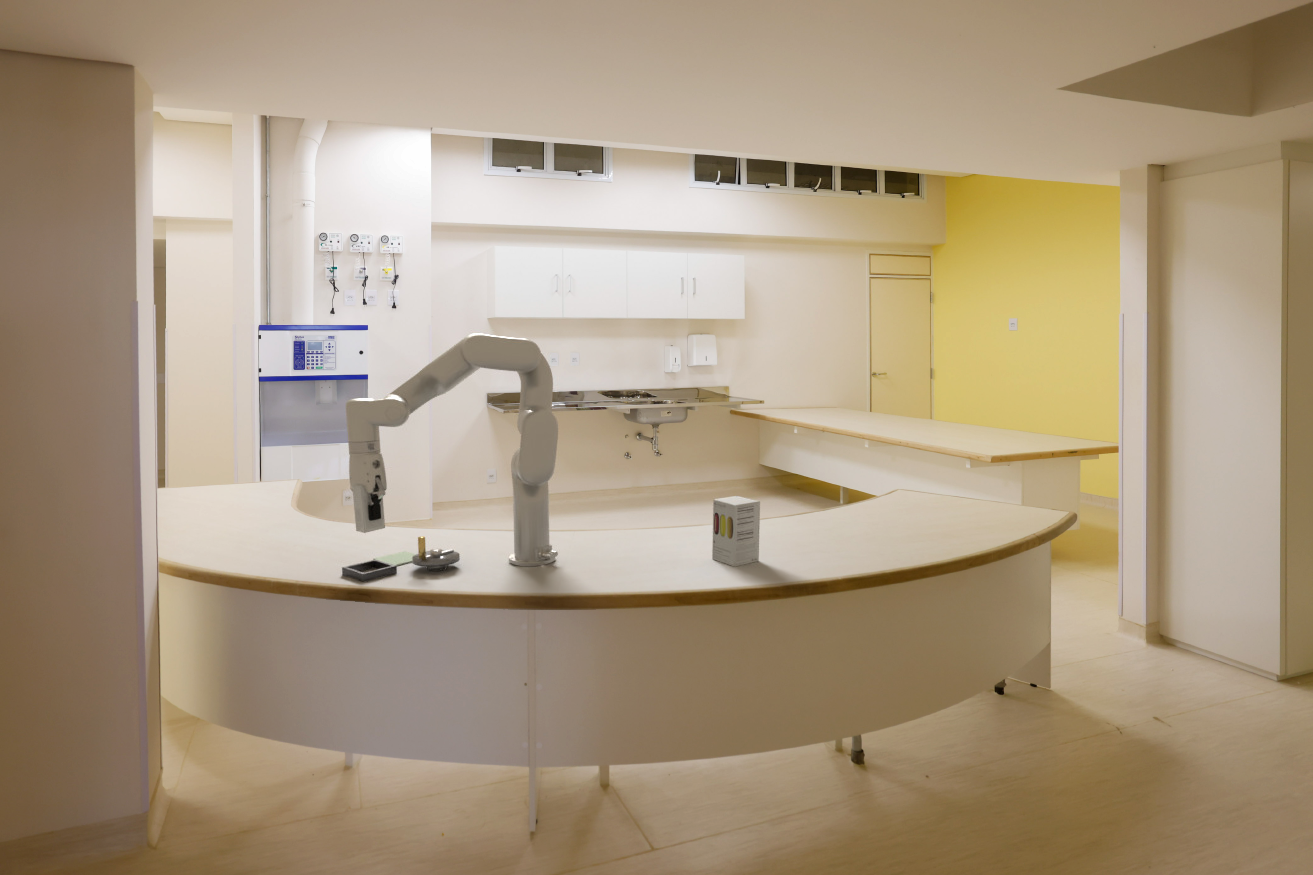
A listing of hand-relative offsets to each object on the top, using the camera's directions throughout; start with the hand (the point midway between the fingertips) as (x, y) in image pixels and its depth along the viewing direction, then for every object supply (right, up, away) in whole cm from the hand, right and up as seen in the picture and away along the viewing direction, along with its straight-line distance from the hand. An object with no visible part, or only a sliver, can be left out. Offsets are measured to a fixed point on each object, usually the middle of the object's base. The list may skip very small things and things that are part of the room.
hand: (369, 517), depth 210 cm
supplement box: (+95, -13, +15) cm, 97 cm away
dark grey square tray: (-1, -15, +2) cm, 15 cm away
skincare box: (0, -3, 0) cm, 3 cm away
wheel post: (+15, -14, +7) cm, 22 cm away
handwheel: (+15, -12, +7) cm, 20 cm away
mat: (+3, -13, +15) cm, 20 cm away
